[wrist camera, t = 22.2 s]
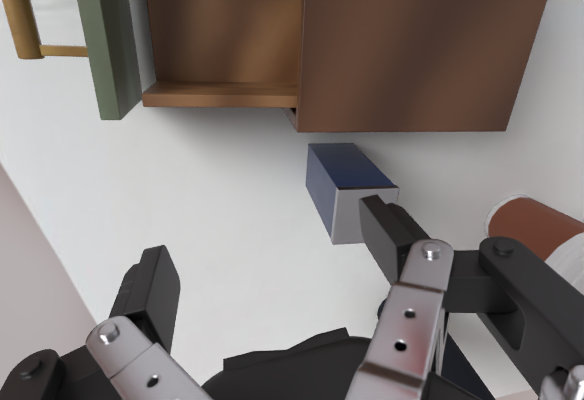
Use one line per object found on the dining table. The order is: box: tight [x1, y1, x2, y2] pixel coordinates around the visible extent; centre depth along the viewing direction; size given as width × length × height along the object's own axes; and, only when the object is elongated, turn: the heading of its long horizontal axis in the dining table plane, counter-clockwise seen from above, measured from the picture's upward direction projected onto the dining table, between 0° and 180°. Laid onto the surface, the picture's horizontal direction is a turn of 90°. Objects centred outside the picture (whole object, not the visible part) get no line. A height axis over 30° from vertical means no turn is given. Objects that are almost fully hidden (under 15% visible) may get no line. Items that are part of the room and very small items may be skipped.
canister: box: [306, 143, 399, 245], centre depth 31 cm, size 4×4×10 cm
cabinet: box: [283, 0, 547, 132], centre depth 26 cm, size 16×15×9 cm
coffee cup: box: [485, 195, 584, 295], centre depth 37 cm, size 9×9×12 cm
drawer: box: [2, 0, 301, 120], centre depth 23 cm, size 20×14×7 cm
